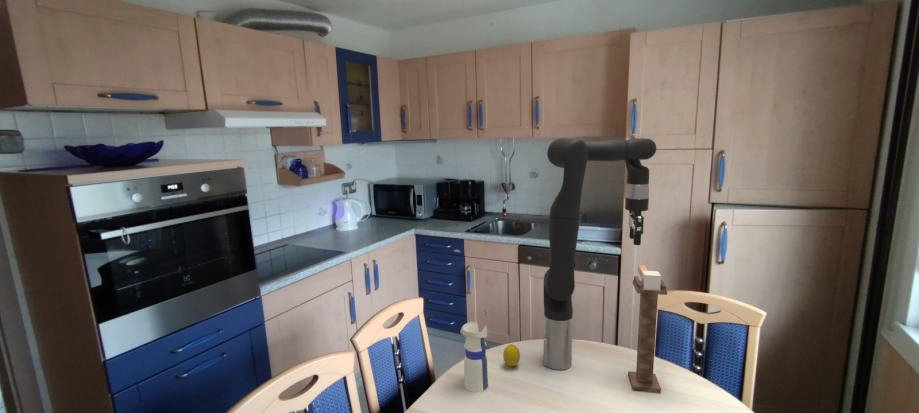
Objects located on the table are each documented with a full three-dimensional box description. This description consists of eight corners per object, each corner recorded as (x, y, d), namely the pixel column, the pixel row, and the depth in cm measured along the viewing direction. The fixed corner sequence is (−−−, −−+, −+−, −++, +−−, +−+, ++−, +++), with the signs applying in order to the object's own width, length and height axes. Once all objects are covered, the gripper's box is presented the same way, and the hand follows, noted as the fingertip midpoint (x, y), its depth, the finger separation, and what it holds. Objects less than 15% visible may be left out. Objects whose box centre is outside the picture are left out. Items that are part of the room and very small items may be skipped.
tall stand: (632, 390, 128) (637, 285, 122) (628, 375, 136) (632, 275, 130) (660, 393, 126) (667, 286, 120) (654, 378, 134) (661, 277, 128)
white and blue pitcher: (471, 373, 139) (469, 301, 135) (494, 381, 134) (493, 307, 130) (457, 386, 133) (454, 311, 128) (480, 395, 128) (478, 317, 123)
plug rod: (643, 289, 122) (644, 275, 122) (634, 270, 138) (634, 257, 137) (660, 290, 121) (661, 275, 121) (648, 271, 137) (649, 258, 136)
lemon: (519, 362, 145) (519, 340, 144) (520, 371, 140) (520, 348, 138) (503, 361, 146) (503, 340, 144) (503, 370, 140) (503, 348, 139)
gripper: (622, 193, 155) (620, 236, 158) (628, 199, 141) (626, 246, 144) (644, 193, 153) (642, 237, 156) (653, 199, 140) (650, 247, 143)
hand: (634, 241), depth 150 cm, fingers open, 8 cm apart
